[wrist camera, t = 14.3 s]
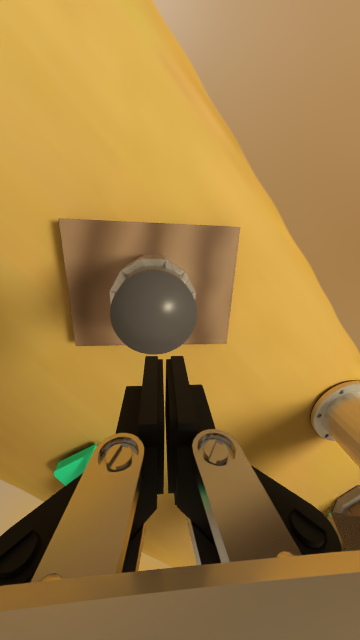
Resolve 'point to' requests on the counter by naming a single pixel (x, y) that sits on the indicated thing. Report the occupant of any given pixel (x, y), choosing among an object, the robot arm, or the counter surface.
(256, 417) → the counter surface
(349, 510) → the tankard
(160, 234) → the pipe flange plate
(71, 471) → the camera mount
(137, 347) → the grey sphere
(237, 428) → the counter surface
